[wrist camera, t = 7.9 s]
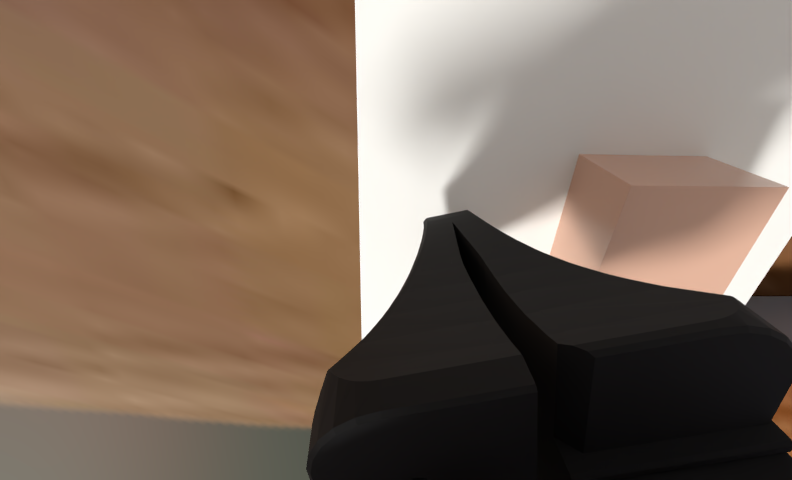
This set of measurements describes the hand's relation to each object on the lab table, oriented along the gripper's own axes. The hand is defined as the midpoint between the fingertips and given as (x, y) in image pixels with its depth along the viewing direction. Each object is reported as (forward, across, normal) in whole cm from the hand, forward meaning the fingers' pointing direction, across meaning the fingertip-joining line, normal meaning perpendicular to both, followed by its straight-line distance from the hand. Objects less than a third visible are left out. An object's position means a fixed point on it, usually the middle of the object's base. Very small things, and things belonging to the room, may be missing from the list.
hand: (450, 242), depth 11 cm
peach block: (+1, -6, +1) cm, 6 cm away
